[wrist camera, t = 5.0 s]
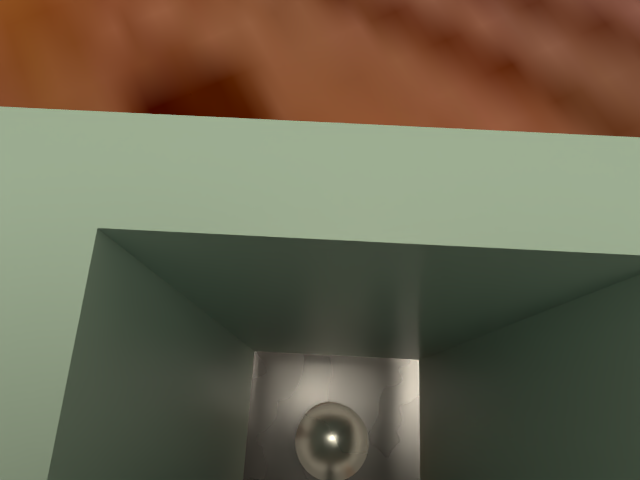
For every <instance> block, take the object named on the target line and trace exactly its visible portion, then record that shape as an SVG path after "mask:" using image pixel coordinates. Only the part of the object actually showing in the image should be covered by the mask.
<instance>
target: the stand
mask: <svg viewBox="0 0 640 480" xmlns="http://www.w3.org/2000/svg"><path fill="white" fill-rule="evenodd" d="M243 480H420V410H419V360H414V359H395V358H376V357H356V356H337V355H318V354H299V353H280V352H261V351H255V352H254V363H253V374H252V385H251V396H250V408H249V419H248V430H247V441H246V452H245V464H244V475H243Z"/></svg>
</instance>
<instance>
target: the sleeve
mask: <svg viewBox="0 0 640 480" xmlns="http://www.w3.org/2000/svg"><path fill="white" fill-rule="evenodd" d="M255 351H261V352H280V353H299V354H318V355H337V356H356V357H376V358H395V359H414V360H419V410H420V480H640V138H639V137H618V136H597V135H576V134H556V133H535V132H514V131H494V130H473V129H452V128H431V127H411V126H390V125H369V124H348V123H328V122H307V121H286V120H266V119H245V118H224V117H203V116H183V115H162V114H141V113H120V112H100V111H79V110H58V109H37V108H17V107H0V480H243V475H244V464H245V452H246V441H247V430H248V419H249V408H250V396H251V385H252V374H253V363H254V352H255Z"/></svg>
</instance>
